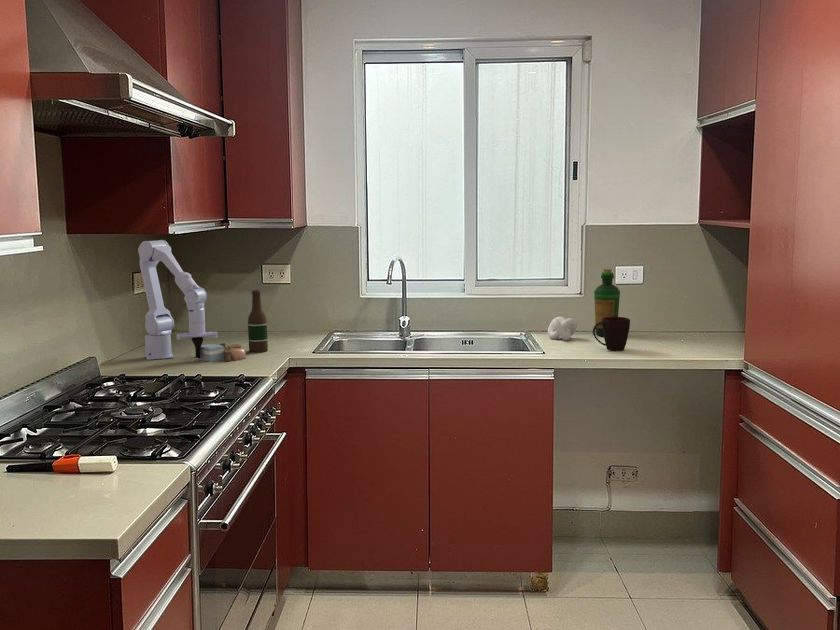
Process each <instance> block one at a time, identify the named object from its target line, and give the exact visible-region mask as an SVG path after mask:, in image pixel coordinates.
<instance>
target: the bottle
mask: <svg viewBox="0 0 840 630" xmlns="http://www.w3.org/2000/svg"><path fill="white" fill-rule="evenodd" d="M600 279H601V281H602V282H601V283H602V284H600V285H598V286H597V287H596V288H595V290H594V291H593V295H594V318H595V319H594V321H595V322H594V323H595V325H596V324H597V323H599V322H602V318H605V317H619V313H620V312H619V310H620V309H619V308H620V299H621V291H620V289H619V287H617V286H616V285H615V284H613V281H614V280H613V279H615V276H614V272H612V269H610V268H605V269H603V272H601V276H600ZM595 325H594V326H595ZM595 335H596V337H600V338H604V334H603V327H602V324H600V325H598V326H597V327H596V329H595Z"/></svg>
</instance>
